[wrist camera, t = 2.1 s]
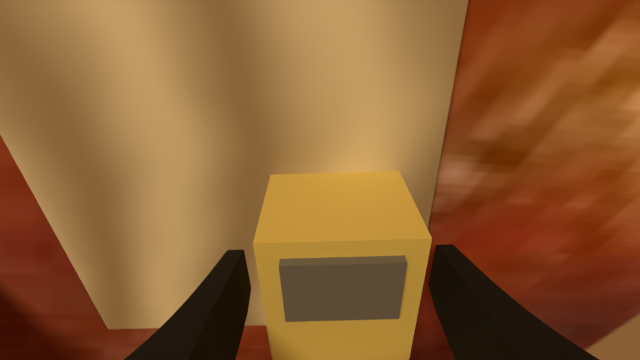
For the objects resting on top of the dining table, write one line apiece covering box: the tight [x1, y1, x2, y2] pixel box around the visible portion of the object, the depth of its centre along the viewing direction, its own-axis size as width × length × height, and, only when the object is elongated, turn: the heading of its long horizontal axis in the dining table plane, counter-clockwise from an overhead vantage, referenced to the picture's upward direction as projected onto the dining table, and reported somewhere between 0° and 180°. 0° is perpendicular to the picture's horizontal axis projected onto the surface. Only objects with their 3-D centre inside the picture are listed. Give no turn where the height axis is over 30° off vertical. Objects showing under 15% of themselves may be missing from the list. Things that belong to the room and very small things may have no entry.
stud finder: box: [253, 171, 432, 360], centre depth 12 cm, size 5×6×4 cm
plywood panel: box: [0, 0, 468, 329], centre depth 12 cm, size 16×21×1 cm
